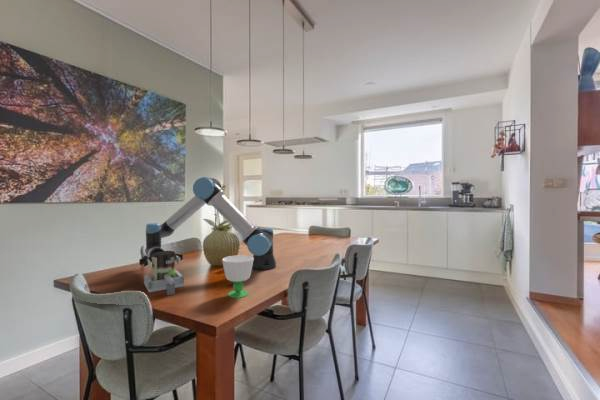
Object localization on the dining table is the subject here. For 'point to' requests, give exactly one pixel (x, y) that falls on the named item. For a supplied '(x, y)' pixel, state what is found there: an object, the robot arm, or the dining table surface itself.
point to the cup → (237, 273)
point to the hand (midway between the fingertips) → (165, 262)
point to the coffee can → (163, 264)
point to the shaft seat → (164, 283)
